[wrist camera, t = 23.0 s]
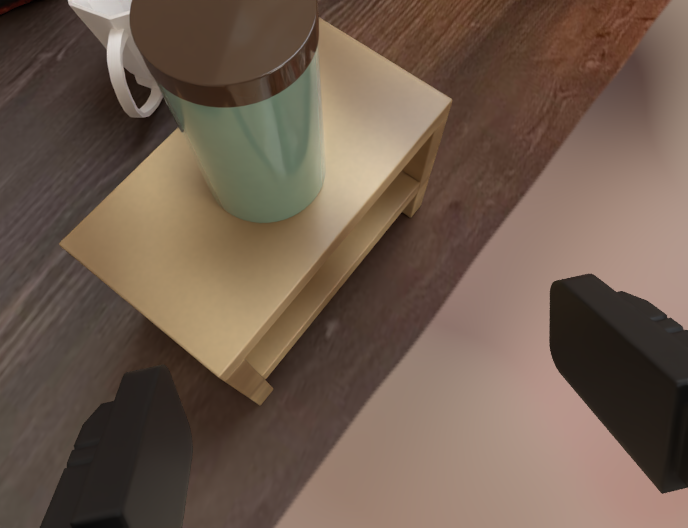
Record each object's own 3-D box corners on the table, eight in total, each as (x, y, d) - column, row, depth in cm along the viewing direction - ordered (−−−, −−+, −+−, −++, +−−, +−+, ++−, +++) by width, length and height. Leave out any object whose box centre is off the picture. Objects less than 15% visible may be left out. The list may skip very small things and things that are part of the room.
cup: (216, 27, 40) (186, -73, 33) (202, 144, 37) (166, 62, 29) (121, 26, 40) (69, -75, 33) (98, 143, 37) (35, 61, 29)
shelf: (313, 132, 37) (301, 5, 27) (421, 205, 35) (453, 99, 25) (147, 312, 33) (57, 243, 23) (260, 405, 31) (218, 378, 21)
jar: (252, 98, 25) (206, -87, 17) (350, 153, 24) (354, -15, 16) (180, 185, 24) (88, 29, 15) (281, 247, 23) (244, 117, 14)
